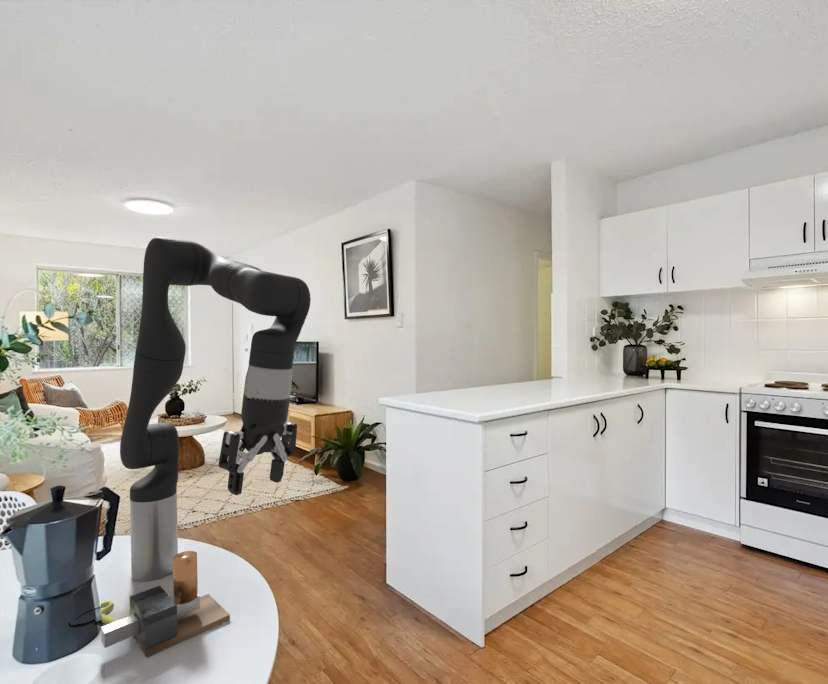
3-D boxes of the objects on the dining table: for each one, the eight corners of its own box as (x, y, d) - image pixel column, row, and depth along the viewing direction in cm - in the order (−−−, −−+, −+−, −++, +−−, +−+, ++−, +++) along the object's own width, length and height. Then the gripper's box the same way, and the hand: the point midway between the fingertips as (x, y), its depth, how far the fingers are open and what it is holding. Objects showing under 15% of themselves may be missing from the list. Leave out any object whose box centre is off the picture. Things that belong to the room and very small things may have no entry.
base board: (129, 630, 83) (129, 625, 83) (208, 598, 93) (208, 593, 93) (146, 657, 76) (146, 651, 76) (229, 619, 86) (229, 614, 86)
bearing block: (130, 626, 83) (129, 596, 83) (160, 614, 87) (160, 585, 87) (145, 650, 77) (144, 617, 77) (177, 636, 80) (176, 604, 80)
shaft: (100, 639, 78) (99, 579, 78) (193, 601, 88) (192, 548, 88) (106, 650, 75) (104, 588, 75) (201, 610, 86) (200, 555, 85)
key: (117, 635, 83) (117, 623, 83) (62, 626, 86) (62, 615, 86) (149, 612, 90) (149, 601, 90) (97, 604, 93) (97, 594, 93)
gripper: (283, 386, 86) (272, 472, 86) (216, 391, 73) (204, 491, 74) (313, 394, 82) (301, 483, 83) (248, 400, 70) (235, 505, 70)
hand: (255, 487), depth 78 cm, fingers open, 8 cm apart
